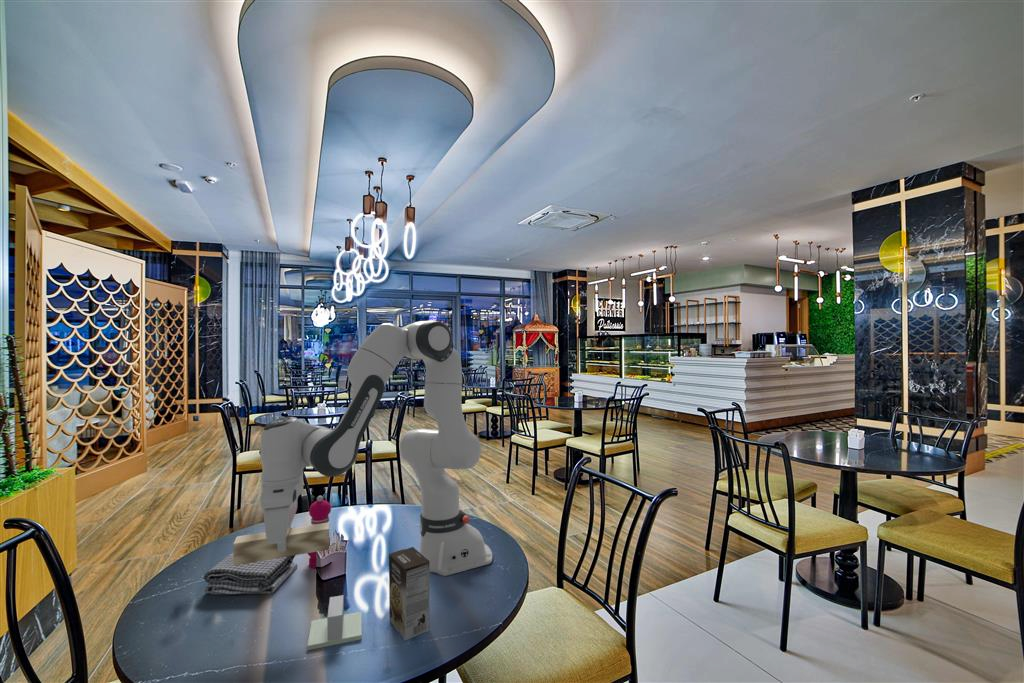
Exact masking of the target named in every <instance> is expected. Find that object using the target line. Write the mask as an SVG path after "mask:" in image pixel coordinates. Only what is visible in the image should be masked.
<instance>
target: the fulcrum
mask: <svg viewBox="0 0 1024 683" xmlns="http://www.w3.org/2000/svg"><path fill="white" fill-rule="evenodd" d="M344 603H345V602H344V594H342V595H337V596H336V595H335V596H330V597H329V603H328V609H327V611H328V612H327V617H325V618H318V619H314V620H311V623H310V629H309V635H308V638H307V639H308V640H307V644H306V645H307V647H306V649H307V651H310V650H311V651H312V650H316V649H320V648H321V649H322V648H326V647H332V646H336V645H340V644H345V643H350V642H351V643H352V642H357V641H361V640H362V639H363V638H362V634H363V633H362V624H363V623H362V620H363V618H362V611H356V612H351V613H344V612H345V611H344V608H345V607H344V605H345V604H344Z"/></svg>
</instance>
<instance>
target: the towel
mask: <svg viewBox="0 0 1024 683" xmlns="http://www.w3.org/2000/svg"><path fill="white" fill-rule="evenodd" d="M296 556H297V555H294V556H288V557H282V558H276V559H271V560H265V561H259V562H253V563H248V564H242V565H236V566H234V555H233V551H232V552H231V553H230V554H229V555H227V556H226V557H224V558H223V559H222V560H221V561H220V562H218V563H217V564H216V565H214V566H212V567H211V568H210V569H209V570H208V571H207V572H206V573H205V574H204V576H203V578H202V579H203V580H204V581H205V582H206V583H208V584H206V585H205V589H204V593H205V594H209V595H213V596H214V595H250V594H251V595H252V594H255V595H257V594H262V595H264V594H265V595H271V594H273V593H274V592H276V591H277V589H278V588H279V587H280V585H282V584H283V583H284V582H285V581H286V579H287V578H289V576H290V575H291V574H293V572H294V571H295V570H296V569H297V568H298V566H299V564H298V563H295V562H294V561H293V560H294V559H295V557H296Z"/></svg>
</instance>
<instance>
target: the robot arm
mask: <svg viewBox="0 0 1024 683" xmlns="http://www.w3.org/2000/svg"><path fill="white" fill-rule="evenodd" d="M454 347H455V346H454V343H453V336H452V333H451V330H450V329H449V327H448V325H446V324H445V323H443V322H442V321H439V320H435V319H434V320H433V319H429V320H420V321H419V320H418V321H415V322H412V323H410V324H405V325H403V326H398V325H397V324H394V323H390V322H384V323H381V324H379V325H378V326H376V327H375V329H373V330H372V332H371V333H369V335H368V336H367V337H366V338H365V339H364V340H363V342H362V343H361V344H360V346H359V348H357V350H356V352H355V353H354V355H353V356H352V358H351V360H350V362H349V364H348V366H347V373H346V374H347V377H348V380H349V382H350V384H351V385H352V388H353V394H352V399H351V401H350V402H349V405H348V407H347V408H346V410H345V412H344V413H343V415H342V417H341V419H340V421H339V423H338V424H337V426H336V427H335V428H333V429H332V428H329V427H326V426H322V425H318V424H317V425H315V424H311V423H309V422H305V421H303V420H300V419H299V418H297V417H294V416H287V417H281V418H278V419H274V420H272V421H270V422H269V423H267V424H266V425H265V426H264V427H263V429H262V431H261V436H260V438H261V439H260V449H259V450H260V454H259V455H260V463H261V465H262V466H261V467H262V471H261V476H260V483H261V484H260V485H261V488H260V490H261V492H260V493H261V494H260V496H261V497H260V509H261V510H263V522H264V532H266V539H267V542H268V543H269V544H275V543H277V550H278V552H283V551H286V548H287V541H286V538H287V535H288V533H289V530H290V528H292V523H293V521H294V518H295V515H296V513H297V510H298V498H299V497H300V495H302V494H303V493H304V469H305V468H306V467H311V468H313V469H315V471H317V472H318V473H319V474H321V476H325V477H329V478H330V477H331V478H334V477H335V478H336V477H338V476H341V475H344V474H345V473H346V472H348V471H349V470H350V469H351V468H352V467H353V465H354V464H355V462H356V460H357V458H358V453H359V449H360V445H361V440H362V438H363V436H364V433H365V432H366V430H367V428H368V426H369V424H370V422H371V420H372V418H373V417H374V414H375V412H376V410H377V408H378V406H379V404H380V402H381V400H382V398H383V395H384V391H385V388H386V385H387V383H388V381H389V379H390V378H391V375H392V373H393V372H394V371H395V369H396V367H397V366H398V364H399V362H400V361H401V360H402V359H406V360H422V362H423V363H424V367H425V380H424V397H423V398H424V399H423V408H424V410H425V412H426V413H427V415H429V416H430V417H431V418H433V419H434V420H435V422H436V424H437V428H438V429H435V428H416V429H411V430H408V431H407V432H406V433H405V434H404V435H403V436H402V438H401V440H400V443H399V444H400V445H399V451H400V452H399V453H400V455H401V458H402V460H404V461H405V462H406V463H407V464H408V465H409V467H410V468H411V469H412V471H413V473H414V474H415V476H416V479H417V482H418V484H419V488H420V496H421V497H420V498H421V499H420V500H421V513H420V516H419V533H420V542H419V543H420V544H419V548H418V552H419V553H421V554H422V555H423V556H424V557H425V558H426V559H428V560H429V561H430V573H436V574H438V575H440V576H444V577H447V576H451V575H454V574H458V573H461V572H465V571H468V570H471V569H475V568H478V567H479V568H480V567H482V566H486V565H490V564H491V563H492V561H493V559H494V558H493V551H492V550H491V547H489V546H488V544H486V543H485V541H484V538H483V536H482V534H481V532H480V531H479V530H478V528H475V527H474V526H472V525H471V524H470V522H471V519H470V517H469V516H468V515H467V514H466V512H465V511H463V509H461V508H460V489H459V485H458V483H457V482H456V481H455V480H454V479H453V478H452V477H450V476H449V474H448V473H447V471H446V470H445V469H448V470H454V471H455V470H456V471H458V470H468V469H473V468H474V467H475V466H476V465H477V464H478V462H479V461H480V459H481V456H482V444H481V442H480V439H479V438H478V436H476V435H475V433H473V432H472V430H471V429H470V428H469V426H468V424H467V422H466V420H465V417H464V414H463V406H462V404H463V403H462V400H463V398H462V394H463V392H462V390H463V384H462V383H463V370H462V369H463V368H462V366H463V365H462V361H461V360H462V359H461V355H460V352H459V351H458V350H456V348H454Z"/></svg>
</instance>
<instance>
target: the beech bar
mask: <svg viewBox="0 0 1024 683" xmlns="http://www.w3.org/2000/svg"><path fill="white" fill-rule="evenodd" d="M329 534H330V521H329V522H328V523H322V524H315V525H312V524H310V525H309V524H308V525H304V526H303V525H302V526H296V527H291V528H290V530H289V533H288V535H287V538H286V541H287V548H286V551H283V552H278V550H277V543H275V544H269V543H268V542H267V539H266V532H265V531H264V532H258V533H251V534H244V535H238V536H236V538H235V540H234V541H233V545H232V549H233V551H232V552H233V555H234V566H236V565H242V564H248V563H253V562H259V561H265V560H271V559H276V558H282V557H288V556H294V555H296V556H298V555H306V554H308V553H311V552H317V551H323V550H328V549H329V546H330V537H329Z"/></svg>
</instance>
